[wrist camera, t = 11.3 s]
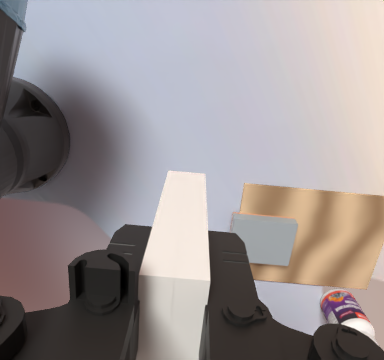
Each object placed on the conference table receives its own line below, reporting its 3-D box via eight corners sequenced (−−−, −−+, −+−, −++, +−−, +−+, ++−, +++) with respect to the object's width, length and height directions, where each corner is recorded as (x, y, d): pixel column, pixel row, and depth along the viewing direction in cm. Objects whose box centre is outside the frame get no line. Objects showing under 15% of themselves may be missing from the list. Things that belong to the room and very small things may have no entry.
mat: (229, 275, 50) (229, 277, 49) (244, 183, 44) (244, 184, 44) (365, 287, 50) (366, 289, 50) (397, 197, 44) (399, 198, 44)
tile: (227, 260, 46) (288, 266, 46) (234, 218, 43) (298, 224, 44) (226, 252, 48) (284, 258, 48) (232, 212, 45) (294, 217, 45)
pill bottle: (355, 287, 50) (390, 337, 41) (349, 313, 52) (381, 366, 43) (321, 286, 50) (348, 336, 41) (316, 312, 52) (341, 366, 43)
